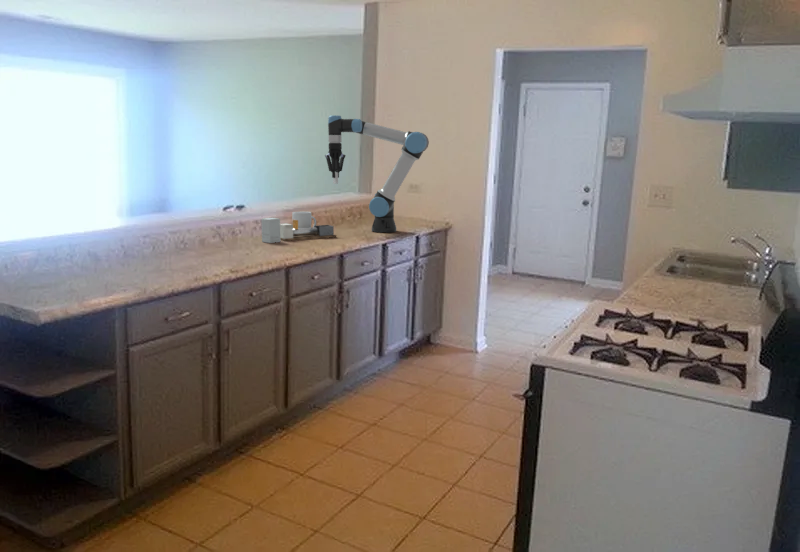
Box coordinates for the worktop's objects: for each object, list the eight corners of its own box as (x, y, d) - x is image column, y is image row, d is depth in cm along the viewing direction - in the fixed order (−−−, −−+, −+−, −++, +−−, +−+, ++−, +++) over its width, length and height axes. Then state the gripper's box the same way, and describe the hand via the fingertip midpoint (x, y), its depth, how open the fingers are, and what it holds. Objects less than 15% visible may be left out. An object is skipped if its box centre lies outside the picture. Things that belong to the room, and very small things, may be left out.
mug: (311, 232, 402) (310, 210, 399) (321, 234, 393) (320, 212, 391) (289, 234, 392) (288, 212, 390) (298, 236, 384) (298, 213, 382)
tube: (314, 234, 383) (313, 218, 381) (317, 235, 379) (317, 219, 378) (284, 236, 373) (284, 220, 371) (288, 237, 369) (287, 220, 368)
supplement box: (281, 242, 363) (280, 218, 360) (269, 243, 358) (269, 219, 355) (272, 240, 368) (272, 217, 365) (261, 241, 363) (260, 218, 360)
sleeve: (327, 233, 389) (327, 224, 388) (333, 235, 384) (333, 226, 383) (314, 234, 384) (314, 225, 383) (319, 236, 379) (319, 227, 378)
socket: (287, 236, 375) (287, 223, 374) (293, 238, 369) (293, 224, 368) (278, 237, 372) (278, 223, 371) (284, 238, 366) (284, 225, 365)
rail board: (328, 235, 391) (328, 233, 391) (336, 237, 384) (336, 235, 383) (277, 239, 373) (277, 237, 373) (284, 241, 366) (284, 239, 366)
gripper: (341, 142, 400) (341, 182, 404) (322, 142, 392) (322, 183, 397) (348, 142, 394) (348, 183, 398) (328, 142, 386) (329, 184, 391)
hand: (335, 183), depth 397 cm, fingers closed
